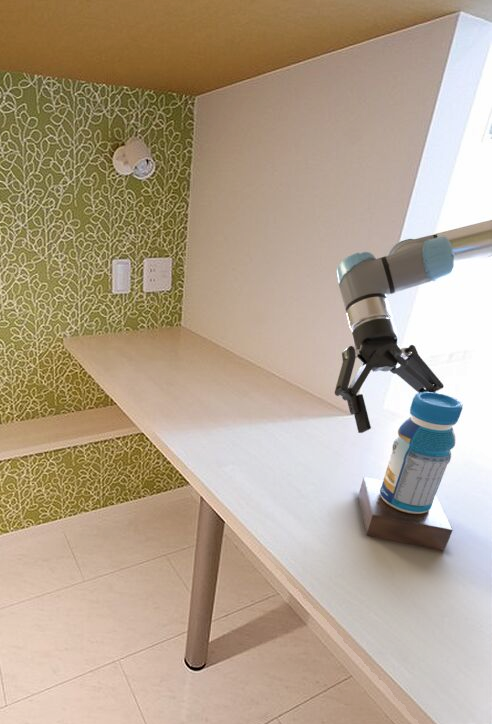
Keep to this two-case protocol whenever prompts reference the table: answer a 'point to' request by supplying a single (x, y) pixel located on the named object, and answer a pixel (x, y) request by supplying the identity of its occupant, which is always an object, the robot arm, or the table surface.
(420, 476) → the beverage bottle
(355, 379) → the robot arm
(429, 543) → the riser
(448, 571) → the table surface
